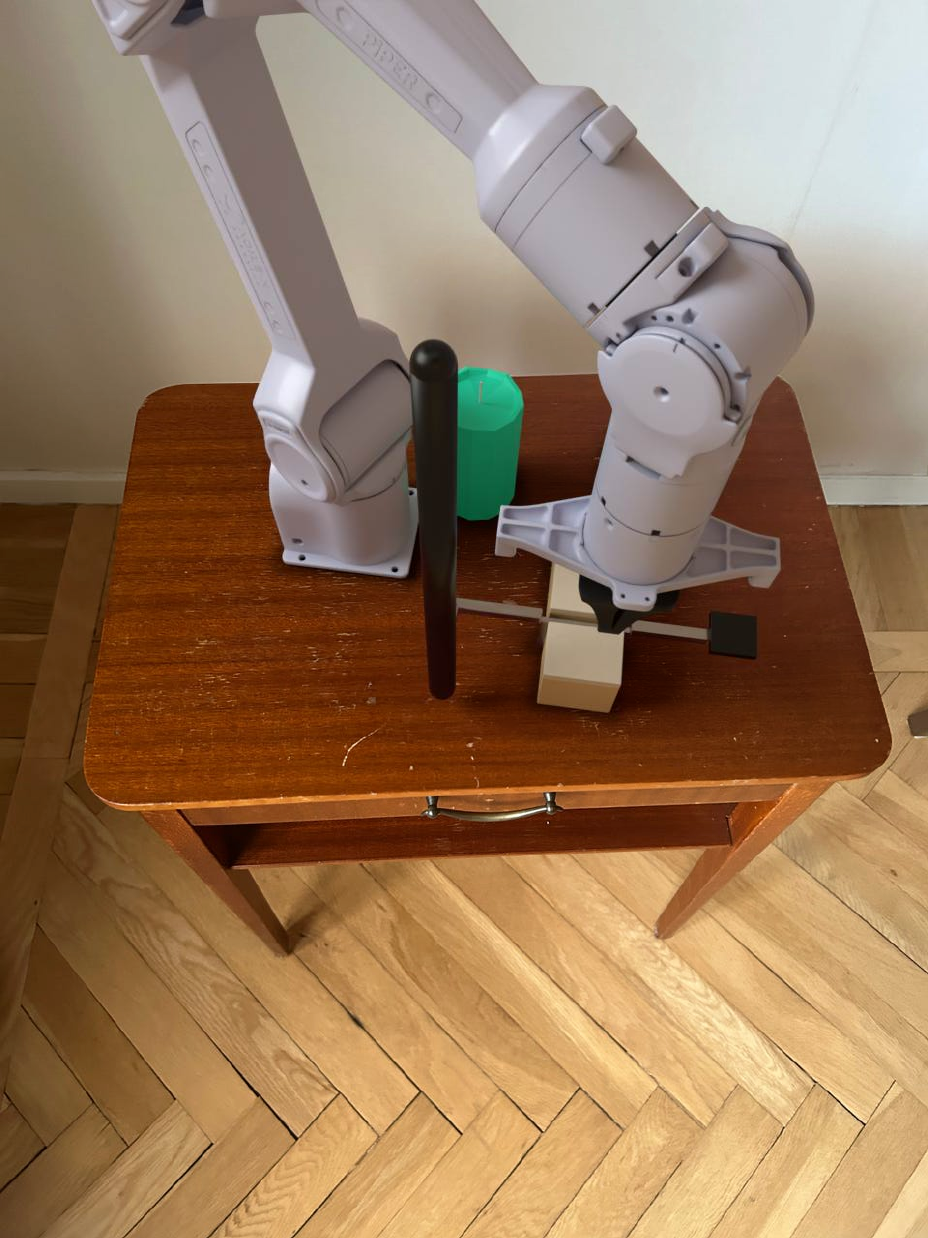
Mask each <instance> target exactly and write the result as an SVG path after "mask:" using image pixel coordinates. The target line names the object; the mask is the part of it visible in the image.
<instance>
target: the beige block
mask: <svg viewBox="0 0 928 1238" xmlns="http://www.w3.org/2000/svg"><path fill="white" fill-rule="evenodd" d="M623 645H624V631H623V632H622V633H620V634H619V635H616V634H608V633H600V632H598V631H597V627H589V626H581V625H573V624H565V623H558V622H549V624H548V629H547V634H546V638H545V643H544V648H542V653H541V662H540V671H539V672H540V673H539V681H538V691H537V699H536V703H537V704H541V705H547V706H554V707H562V708H569V709H577V710H584V711H592V712H599V713H608V714H609V713H610V712H611V709H612V706H613V704H614V702H615V699H616V698H617V694H618V691H619V690H620V688H621V685H622V677H623V661H624V660H623V658H624V649H623Z"/></svg>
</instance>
